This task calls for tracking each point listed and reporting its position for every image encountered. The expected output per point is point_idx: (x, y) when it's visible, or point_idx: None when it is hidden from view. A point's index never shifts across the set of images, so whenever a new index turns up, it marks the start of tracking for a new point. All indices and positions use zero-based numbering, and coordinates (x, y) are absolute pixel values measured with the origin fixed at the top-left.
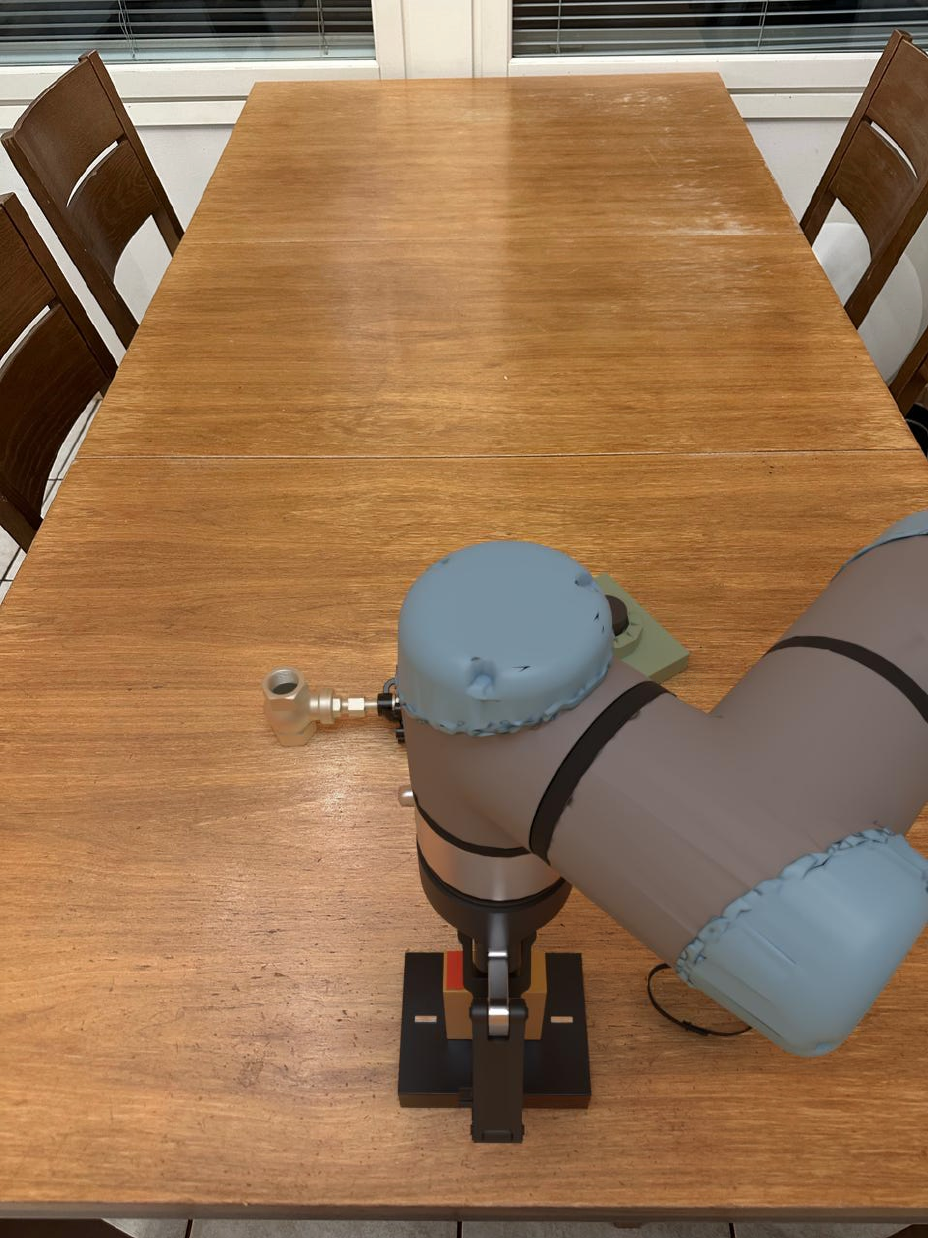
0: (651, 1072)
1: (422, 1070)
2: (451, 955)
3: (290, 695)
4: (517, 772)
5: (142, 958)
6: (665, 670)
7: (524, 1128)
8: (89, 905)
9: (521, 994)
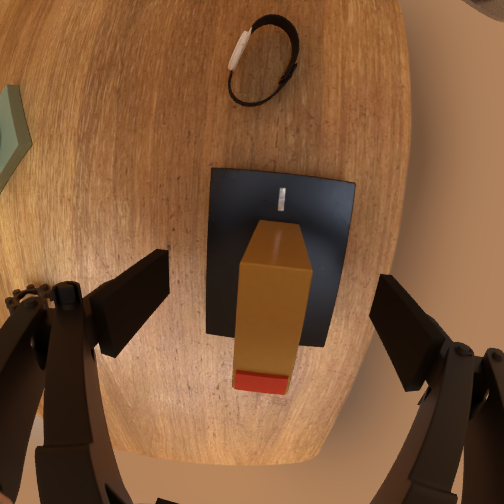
0: (319, 118)
1: (309, 329)
2: (240, 386)
3: None
4: None
5: (209, 434)
6: (11, 99)
7: (501, 356)
8: (183, 445)
9: (450, 492)
